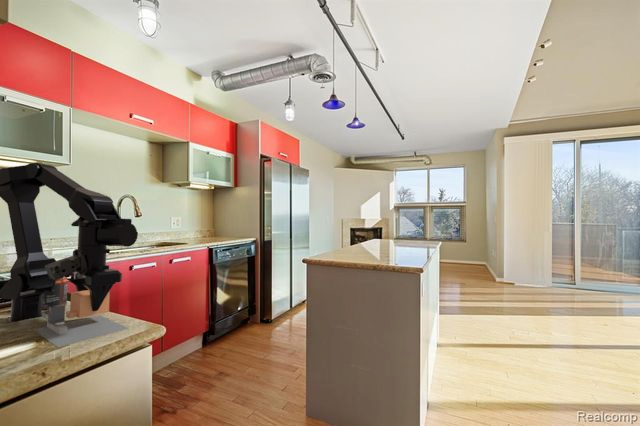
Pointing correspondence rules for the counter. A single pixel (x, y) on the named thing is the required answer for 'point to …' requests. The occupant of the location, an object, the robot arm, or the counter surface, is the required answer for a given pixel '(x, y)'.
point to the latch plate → (79, 330)
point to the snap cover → (85, 305)
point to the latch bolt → (55, 314)
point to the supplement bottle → (56, 294)
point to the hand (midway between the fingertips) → (89, 308)
